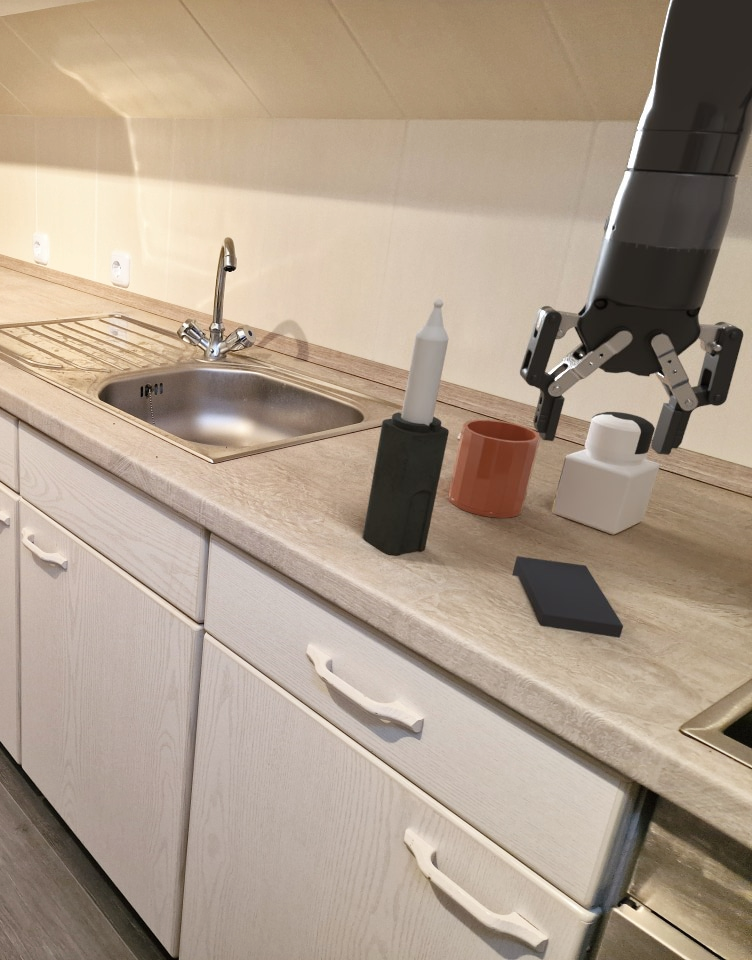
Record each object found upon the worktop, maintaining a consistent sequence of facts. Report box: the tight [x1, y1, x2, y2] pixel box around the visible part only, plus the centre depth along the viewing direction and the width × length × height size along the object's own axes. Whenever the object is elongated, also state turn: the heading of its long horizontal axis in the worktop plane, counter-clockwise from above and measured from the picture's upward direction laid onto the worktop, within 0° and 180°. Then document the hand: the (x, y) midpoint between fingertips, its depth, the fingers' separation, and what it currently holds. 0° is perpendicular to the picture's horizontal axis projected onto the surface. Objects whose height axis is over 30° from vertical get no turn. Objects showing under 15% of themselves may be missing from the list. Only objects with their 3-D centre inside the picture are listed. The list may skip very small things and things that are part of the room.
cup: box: [448, 419, 542, 519], centre depth 97 cm, size 8×8×9 cm
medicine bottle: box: [551, 411, 660, 536], centre depth 94 cm, size 7×7×12 cm
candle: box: [362, 298, 450, 556], centre depth 83 cm, size 5×5×25 cm
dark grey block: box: [511, 555, 624, 638], centre depth 74 cm, size 6×11×3 cm, turn 167°
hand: (602, 444), depth 69 cm, fingers open, 8 cm apart
